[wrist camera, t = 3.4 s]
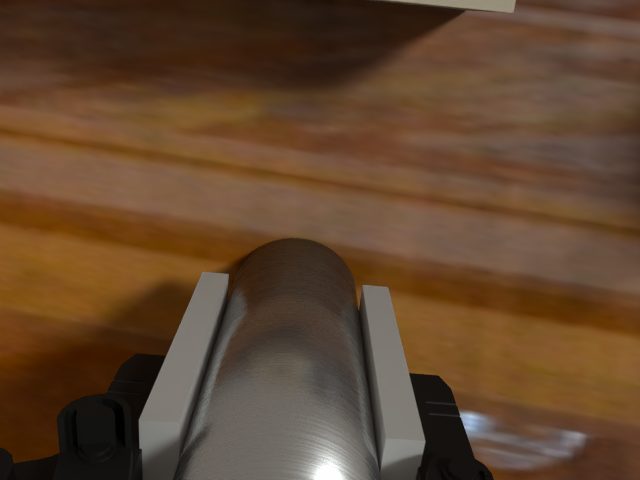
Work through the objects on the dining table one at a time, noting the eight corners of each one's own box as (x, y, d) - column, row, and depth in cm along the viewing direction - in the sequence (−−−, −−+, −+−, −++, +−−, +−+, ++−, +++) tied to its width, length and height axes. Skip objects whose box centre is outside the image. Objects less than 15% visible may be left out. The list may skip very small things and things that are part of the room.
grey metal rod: (348, 352, 20) (375, 660, 11) (230, 343, 20) (152, 646, 10) (363, 243, 18) (408, 490, 9) (235, 232, 18) (147, 471, 9)
